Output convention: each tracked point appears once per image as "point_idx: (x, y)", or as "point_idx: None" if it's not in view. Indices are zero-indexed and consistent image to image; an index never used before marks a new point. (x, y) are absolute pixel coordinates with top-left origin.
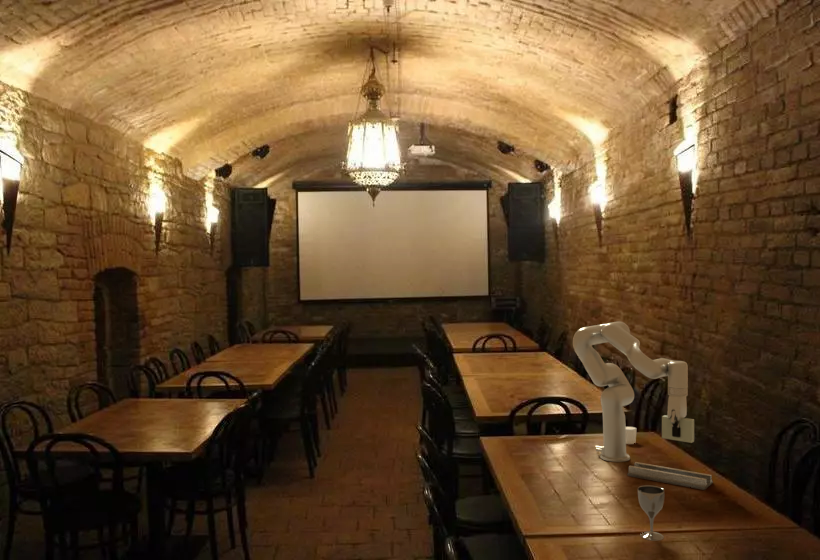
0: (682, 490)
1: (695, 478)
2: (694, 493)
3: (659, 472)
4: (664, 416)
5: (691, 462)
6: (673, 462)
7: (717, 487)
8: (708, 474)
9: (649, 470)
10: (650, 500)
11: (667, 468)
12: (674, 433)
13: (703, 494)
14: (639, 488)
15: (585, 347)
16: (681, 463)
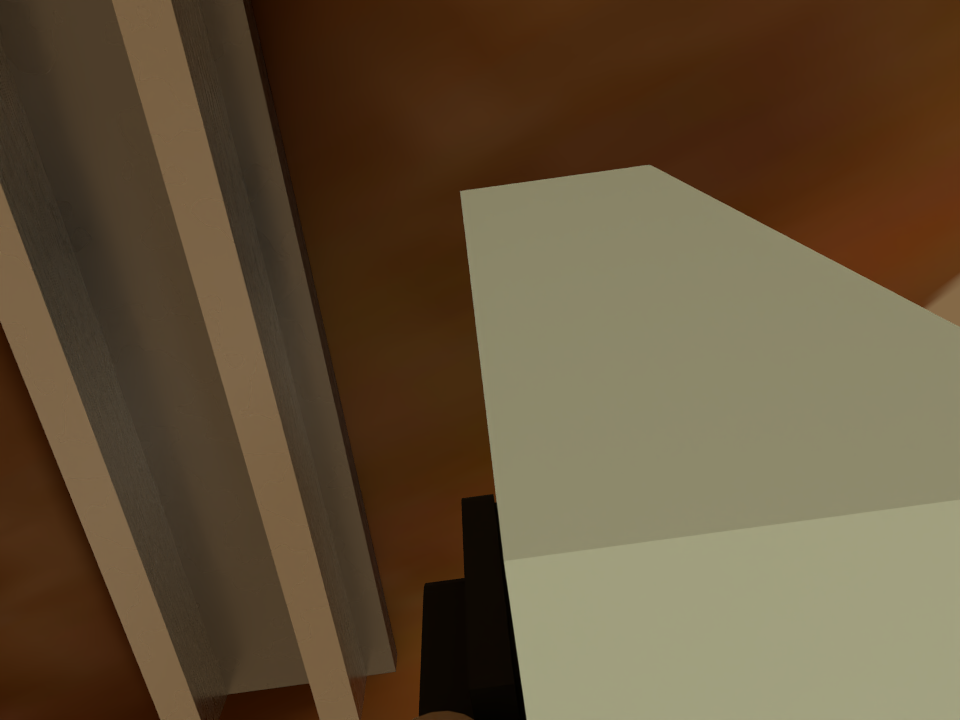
0: (7, 579)
1: (145, 679)
2: (30, 668)
3: (12, 338)
4: (660, 690)
5: (938, 246)
6: (831, 81)
7: None
8: (352, 704)
9: None
10: None
11: (213, 343)
12: (429, 618)
13: (71, 716)
14: None
15: None
16: (839, 178)
